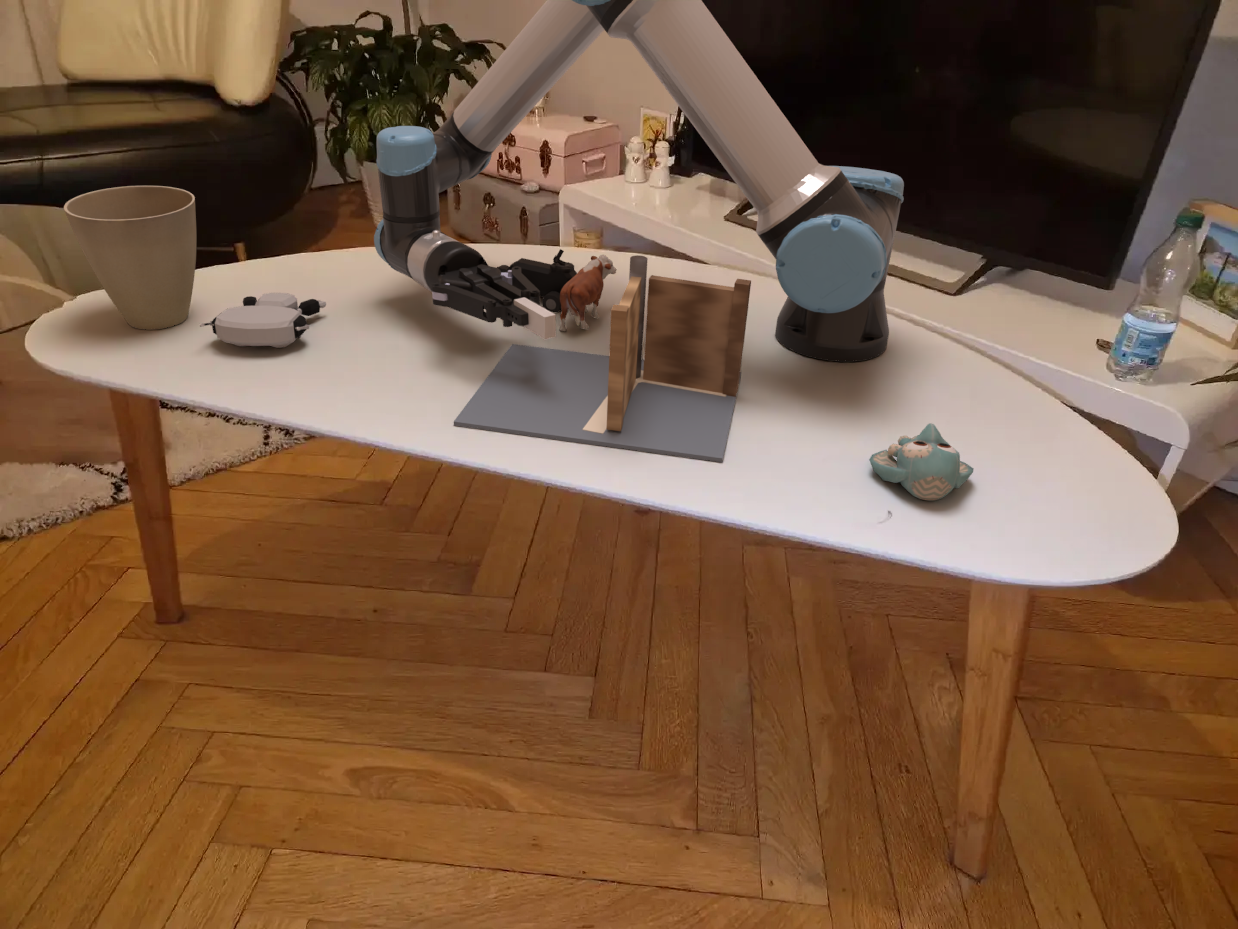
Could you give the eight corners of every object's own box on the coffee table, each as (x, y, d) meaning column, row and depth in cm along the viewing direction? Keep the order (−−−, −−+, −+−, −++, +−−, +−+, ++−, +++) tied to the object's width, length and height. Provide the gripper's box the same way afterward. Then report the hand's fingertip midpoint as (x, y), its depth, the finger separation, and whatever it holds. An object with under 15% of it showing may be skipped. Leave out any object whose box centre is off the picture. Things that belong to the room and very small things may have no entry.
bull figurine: (619, 307, 136) (622, 253, 131) (577, 339, 125) (578, 281, 121) (592, 301, 137) (594, 247, 133) (548, 333, 127) (548, 275, 122)
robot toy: (244, 317, 129) (201, 355, 116) (240, 286, 127) (195, 320, 114) (333, 321, 130) (300, 359, 116) (330, 289, 127) (296, 324, 114)
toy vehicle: (561, 319, 133) (564, 260, 128) (469, 298, 137) (468, 240, 133) (584, 301, 140) (587, 244, 135) (495, 280, 144) (495, 225, 139)
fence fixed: (622, 381, 115) (628, 259, 107) (627, 374, 116) (633, 254, 108) (734, 401, 111) (749, 277, 103) (737, 394, 113) (752, 271, 105)
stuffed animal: (968, 408, 101) (1000, 444, 89) (955, 470, 103) (985, 512, 92) (867, 400, 101) (886, 434, 90) (857, 462, 104) (875, 502, 93)
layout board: (740, 375, 118) (741, 371, 117) (722, 462, 99) (722, 457, 99) (512, 347, 122) (512, 343, 122) (453, 425, 104) (453, 420, 103)
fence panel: (624, 378, 114) (629, 267, 106) (637, 379, 113) (643, 269, 106) (606, 429, 102) (611, 309, 95) (620, 431, 102) (626, 311, 95)
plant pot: (75, 319, 124) (42, 199, 116) (182, 291, 134) (158, 179, 126) (129, 352, 116) (97, 226, 108) (238, 320, 126) (217, 202, 118)
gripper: (400, 248, 116) (499, 307, 100) (490, 232, 123) (596, 284, 107) (405, 305, 120) (502, 370, 104) (492, 286, 127) (595, 344, 111)
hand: (550, 326), depth 106 cm, fingers closed
